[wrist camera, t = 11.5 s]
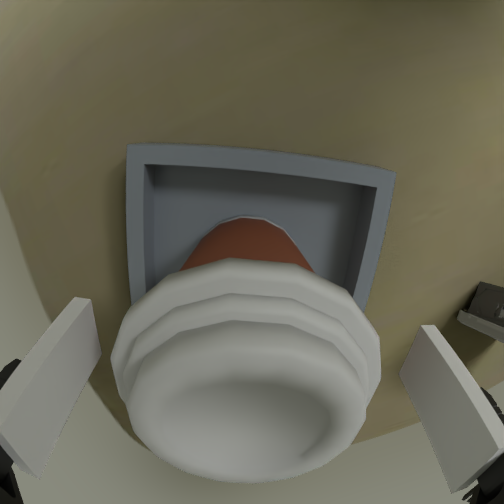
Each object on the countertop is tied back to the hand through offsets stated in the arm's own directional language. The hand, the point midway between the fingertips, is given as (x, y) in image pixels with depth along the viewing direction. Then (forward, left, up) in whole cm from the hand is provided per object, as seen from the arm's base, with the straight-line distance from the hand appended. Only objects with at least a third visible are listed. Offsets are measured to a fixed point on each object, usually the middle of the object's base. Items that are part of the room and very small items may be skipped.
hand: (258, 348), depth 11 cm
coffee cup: (0, 0, -8) cm, 8 cm away
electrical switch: (+2, +22, -9) cm, 24 cm away
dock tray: (0, 0, -9) cm, 9 cm away
